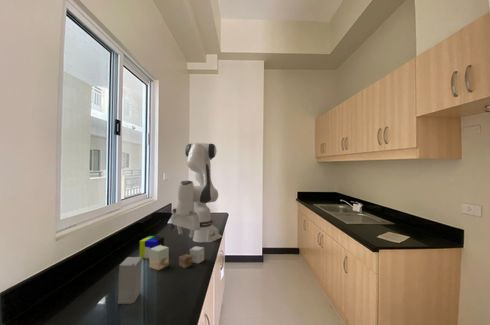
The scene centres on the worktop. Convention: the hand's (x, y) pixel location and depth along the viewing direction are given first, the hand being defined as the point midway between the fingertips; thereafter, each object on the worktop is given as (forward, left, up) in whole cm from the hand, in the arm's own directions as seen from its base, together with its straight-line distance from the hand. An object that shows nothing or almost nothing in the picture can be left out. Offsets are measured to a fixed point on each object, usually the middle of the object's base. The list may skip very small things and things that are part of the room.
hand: (185, 235), depth 133 cm
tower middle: (+10, -10, -12) cm, 18 cm away
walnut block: (0, 0, -17) cm, 17 cm away
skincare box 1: (+35, +10, -17) cm, 40 cm away
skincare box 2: (-8, 0, -17) cm, 18 cm away
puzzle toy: (+4, -28, -17) cm, 33 cm away
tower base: (+10, -10, -17) cm, 22 cm away
